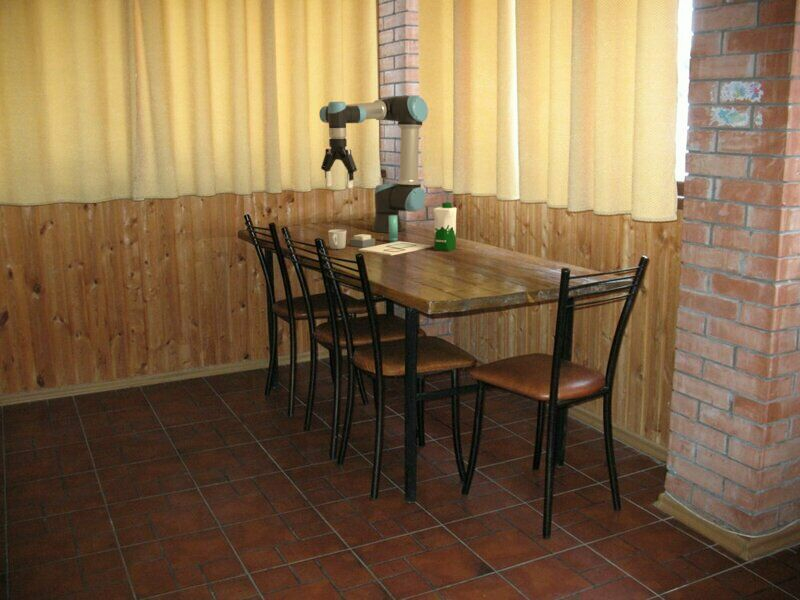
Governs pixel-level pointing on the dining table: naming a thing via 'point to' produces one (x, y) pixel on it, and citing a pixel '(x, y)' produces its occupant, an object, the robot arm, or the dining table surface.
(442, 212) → the milk carton
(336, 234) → the cup
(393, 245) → the picture board
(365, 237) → the button
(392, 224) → the teal cylinder
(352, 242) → the button housing
